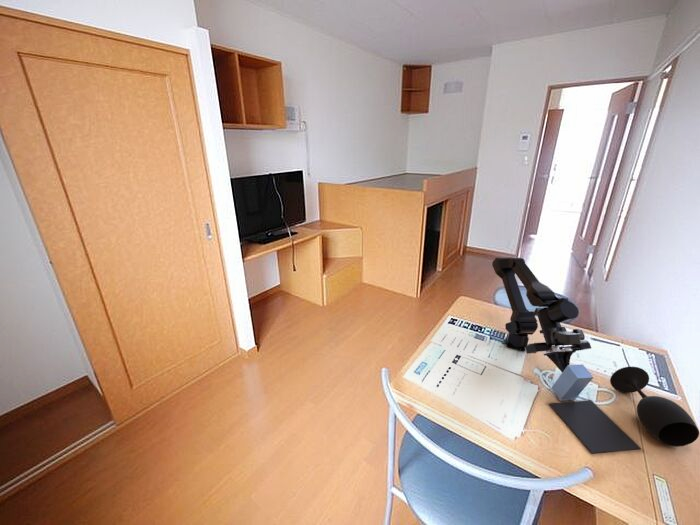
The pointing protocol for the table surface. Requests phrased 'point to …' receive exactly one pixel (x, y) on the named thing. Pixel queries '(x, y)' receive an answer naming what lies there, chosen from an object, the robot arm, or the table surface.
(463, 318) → the table surface
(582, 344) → the robot arm
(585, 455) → the table surface
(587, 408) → the rubber mat
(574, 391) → the blue block
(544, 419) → the table surface
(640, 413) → the wine glass
